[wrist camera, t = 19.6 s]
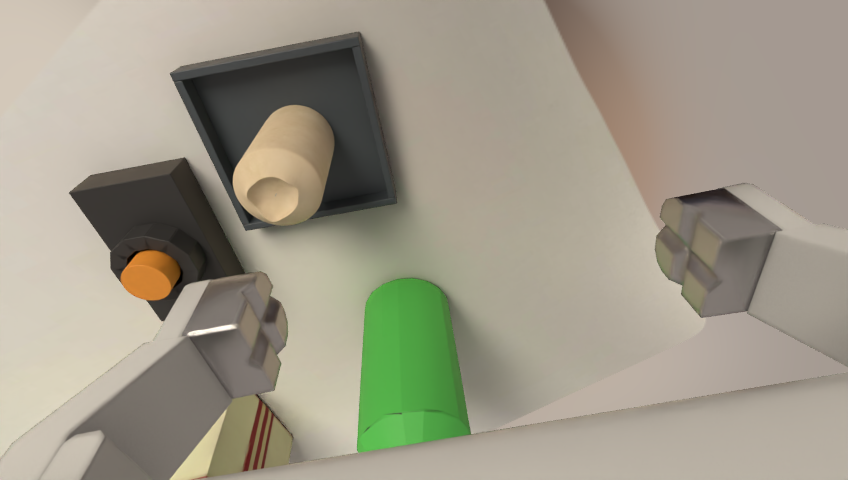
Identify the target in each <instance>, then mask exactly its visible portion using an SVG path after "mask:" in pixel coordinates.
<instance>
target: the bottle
mask: <svg viewBox="0 0 848 480" xmlns="http://www.w3.org/2000/svg"><path fill="white" fill-rule="evenodd" d="M470 434H471V432H470V426H469V420H468V414H467V408H466V403H465V397H464V391H463V385H462V379H461V373H460V368H459V362H458V356H457V351H456V345H455V339H454V334H453V328H452V322H451V317H450V311H449V306H448V301H447V297H446V296H445V295H444V294H443V292H442V291H441V290H440V289H439V288H438V287H436V286H435V285H433V284H431V283H429V282H428V281H423V280H419V279H414V278H409V279H397V280H394V281H391V282H388V283H385V284H383V285H382V286H380V287H379V288H378V289H376V290H375V291H374V292H372V294H371V295H370V297H369V299H368V300H367V302H366V307H365V319H364V335H363V351H362V368H361V385H360V403H359V421H358V438H357V451H358V453H360V452H366V451H372V450H378V449H384V448H390V447H396V446H403V445H409V444H415V443H421V442H427V441H433V440H439V439H445V438H451V437H457V436H464V435H470Z"/></svg>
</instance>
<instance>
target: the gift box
mask: <svg viewBox="0 0 848 480" xmlns="http://www.w3.org/2000/svg"><path fill="white" fill-rule="evenodd" d="M232 400H233V401H232V403H231V404H230V405H229V406H228V408H227V409H226V410H225V411H224V413H223V414H222V415H221V416H220V418H219V419H218V420H217V421H216V423H215V424H214V425H213V426H212V428H211V429H210V430H209V431H208V433H207V434H206V435H205V436H204V437H203V439H202V440H201V441H200V442H199V444H198V445H197V446H196V447H195V449H194V450H193V451H192V452H191V454H190V455H189V456H188V457H187V459H186V460H185V461H184V462H183V464H182V465H181V466H180V467H179V469H178V470H177V471H176V472H175V473H174V475H173V476H172V477H171V478H170V480H196V479H202V478H208V477H214V476H220V475H226V474H232V473H238V472H244V471H251V470H257V469H263V468H269V467H275V466H281V465H287V464H289V458H290V452H291V447H292V440H293V436H292V435H291V434H290V433H289V432H288V431H287V429H286V428H285V427H284V426H283V425H282V424H281V423H280V421H279V420H278V419H277V418H276V417H275V416H274V414H273V413H272V412H271V411H270V410H269V409H268V408H267V406H266V405H265V404H264V403H263V402H262V401H261V400H260V399H259V398H258V397H257V396H256V394H254V395H249V396H244V397H239V398H234V399H232Z"/></svg>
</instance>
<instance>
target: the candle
mask: <svg viewBox="0 0 848 480" xmlns="http://www.w3.org/2000/svg"><path fill="white" fill-rule="evenodd" d="M334 146H335V141H334V135H333V131H332V129H331V126H330V125H329V123H328V122H327V120H326V119H325V118H324V117H323V116H322V115H321V114H319V113H318V112H317V111H315V110H313V109H311V108H309V107H306V106H301V105H289V106H285V107H282V108H280V109H278V110H276V111H275V112H273V113H272V114H271V115H270V116H269V118H268V119H267V120H266V122H265V123H264V125H263V126H262V128H261V129H260V131H259V132H258V134H257V135H256V137H255V138H254V140H253V141H252V143H251V145H250V146H249V148H248V149H247V151H246V152H245V154H244V155H243V157H242V158H241V160H240V161H239V163H238V165H237V166H236V168H235V171H234V174H233V188H234V192H235V195H236V197H237V199H238V200H239V202H240V204H241V205H242V206H243V207H244V208H245V209H246V210H247V211H248V212H249V213H250V214H251V215H253V216H254V217H256V218H258V219H260V220H262V221H264V222H267V223H270V224H274V225H283V226H285V225H294V224H298V223H301V222H303V221H305V220H307V219H309V218H310V217H311V216H312V215H313V214H314V213H315V212H316V211H317V210H318V208H319V206H320V204H321V201H322V197H323V193H324V189H325V185H326V181H327V177H328V173H329V169H330V165H331V160H332V156H333V152H334Z"/></svg>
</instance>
